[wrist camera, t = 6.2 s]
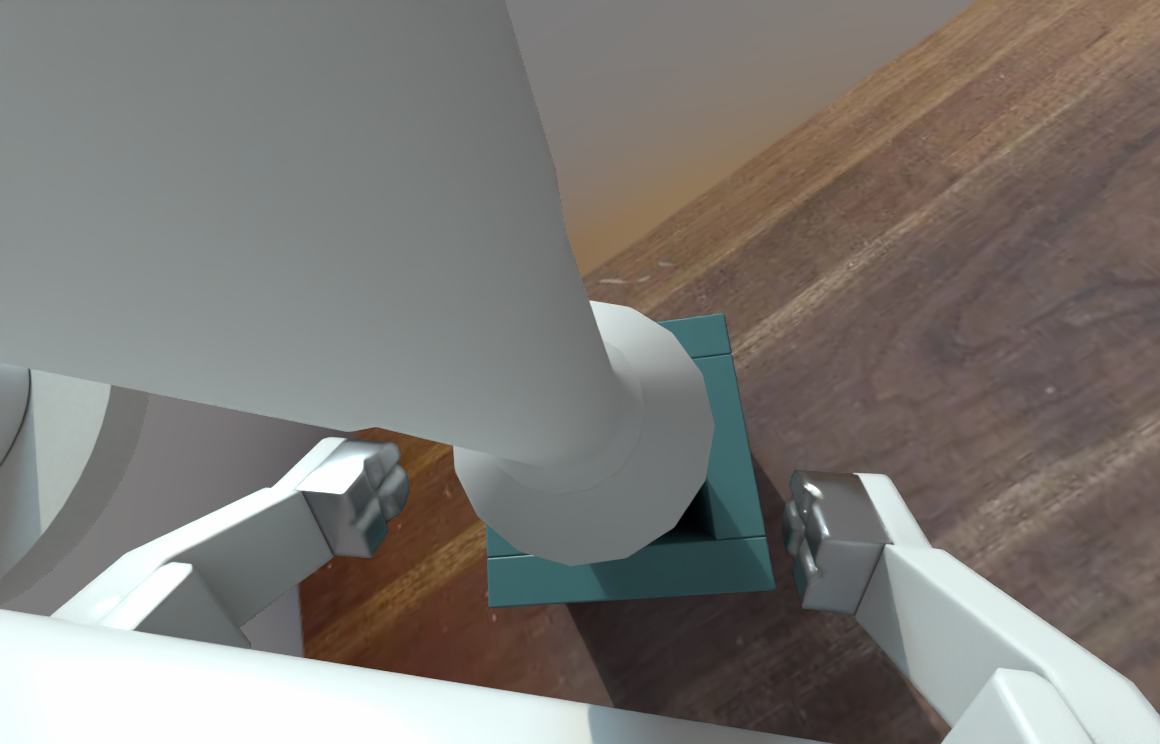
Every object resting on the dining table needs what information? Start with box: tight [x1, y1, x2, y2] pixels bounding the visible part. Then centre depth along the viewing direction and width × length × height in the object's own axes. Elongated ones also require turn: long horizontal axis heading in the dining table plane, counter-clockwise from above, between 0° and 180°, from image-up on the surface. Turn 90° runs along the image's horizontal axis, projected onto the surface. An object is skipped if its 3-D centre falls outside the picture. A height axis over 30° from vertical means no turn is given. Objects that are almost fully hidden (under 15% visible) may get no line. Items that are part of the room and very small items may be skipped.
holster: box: [486, 313, 776, 608], centre depth 20 cm, size 9×9×9 cm
